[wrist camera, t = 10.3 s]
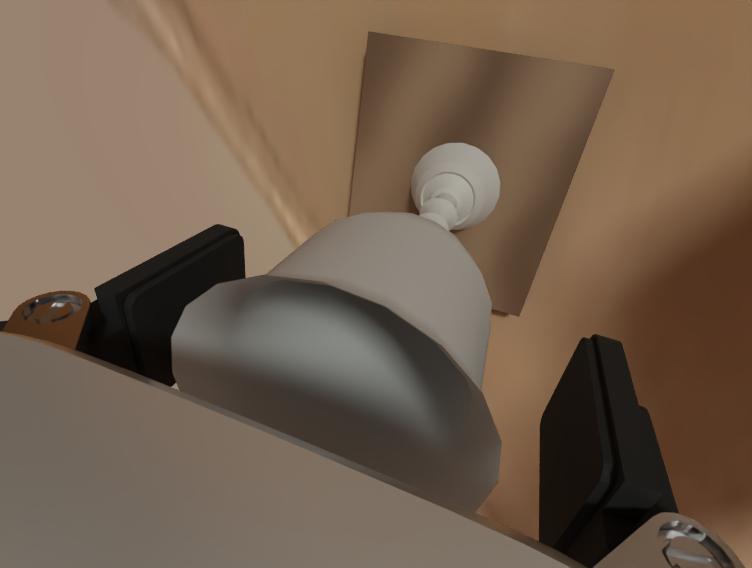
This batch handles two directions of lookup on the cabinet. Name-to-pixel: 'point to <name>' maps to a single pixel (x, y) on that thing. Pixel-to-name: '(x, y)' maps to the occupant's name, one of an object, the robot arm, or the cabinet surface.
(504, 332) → the cabinet surface
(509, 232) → the walnut board
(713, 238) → the cabinet surface
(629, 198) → the cabinet surface
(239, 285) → the chalice
